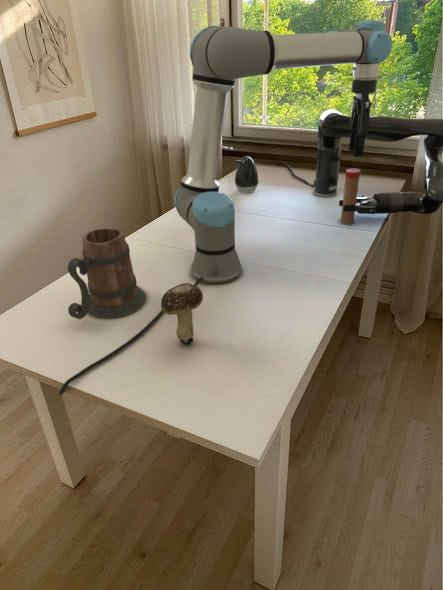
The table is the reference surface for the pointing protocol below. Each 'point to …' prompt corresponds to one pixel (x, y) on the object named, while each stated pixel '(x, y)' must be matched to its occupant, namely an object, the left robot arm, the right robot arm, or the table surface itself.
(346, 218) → the jar
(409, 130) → the right robot arm
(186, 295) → the mushroom
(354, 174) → the lid
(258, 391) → the table surface
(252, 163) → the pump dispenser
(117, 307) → the tankard
